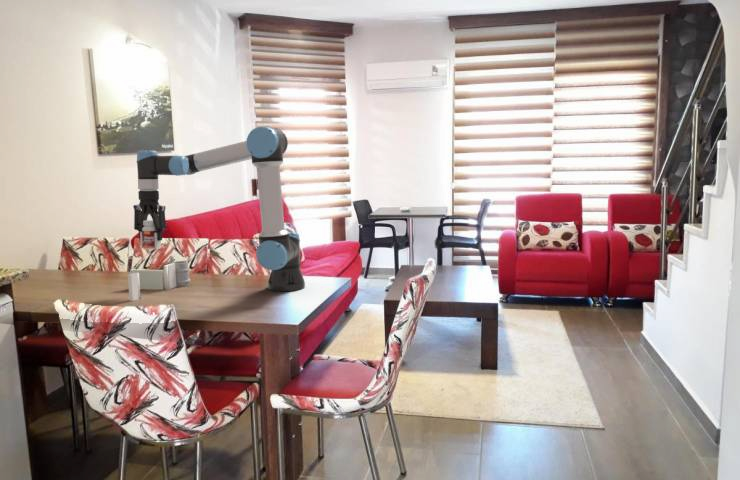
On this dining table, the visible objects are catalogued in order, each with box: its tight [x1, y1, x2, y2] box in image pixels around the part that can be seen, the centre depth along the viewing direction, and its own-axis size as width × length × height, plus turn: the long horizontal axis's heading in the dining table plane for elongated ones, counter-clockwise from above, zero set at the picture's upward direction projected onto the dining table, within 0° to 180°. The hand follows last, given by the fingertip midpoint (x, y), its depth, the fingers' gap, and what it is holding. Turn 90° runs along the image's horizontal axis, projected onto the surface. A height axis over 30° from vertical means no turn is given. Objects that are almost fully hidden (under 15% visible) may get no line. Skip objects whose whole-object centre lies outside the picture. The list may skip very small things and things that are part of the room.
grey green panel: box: [129, 268, 165, 291], centre depth 236 cm, size 2×14×8 cm, turn 81°
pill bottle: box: [142, 219, 156, 251], centre depth 228 cm, size 6×6×11 cm
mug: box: [169, 255, 192, 288], centre depth 245 cm, size 8×12×12 cm, turn 54°
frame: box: [127, 263, 177, 302], centre depth 228 cm, size 2×26×10 cm, turn 161°
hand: (151, 248), depth 228 cm, fingers closed on pill bottle, 6 cm apart
